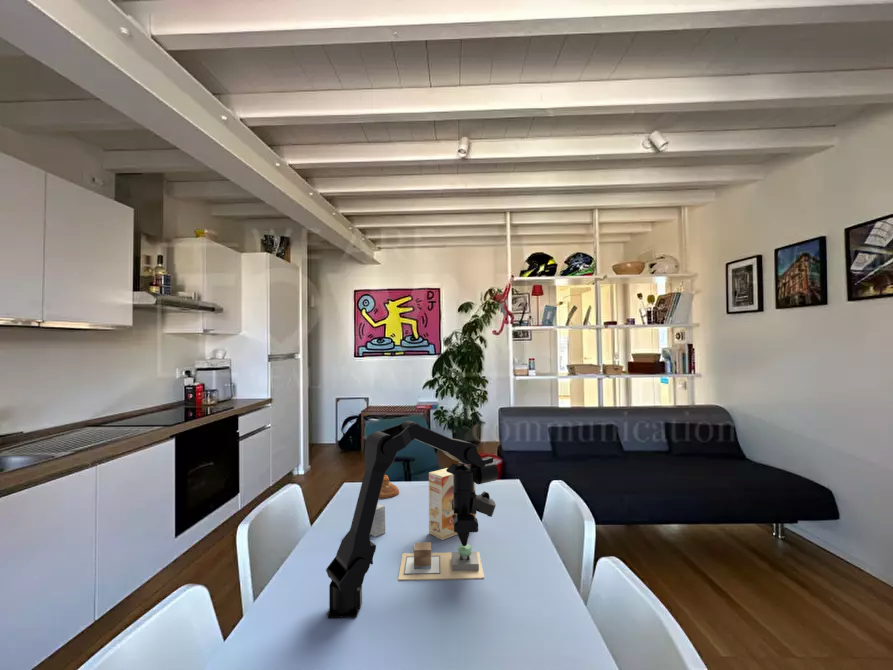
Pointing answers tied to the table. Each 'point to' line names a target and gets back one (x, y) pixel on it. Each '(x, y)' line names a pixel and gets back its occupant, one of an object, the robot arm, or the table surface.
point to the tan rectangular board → (436, 569)
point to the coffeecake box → (441, 504)
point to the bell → (388, 489)
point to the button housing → (465, 562)
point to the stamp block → (422, 555)
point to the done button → (464, 551)
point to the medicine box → (378, 521)
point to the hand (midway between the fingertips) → (464, 545)
